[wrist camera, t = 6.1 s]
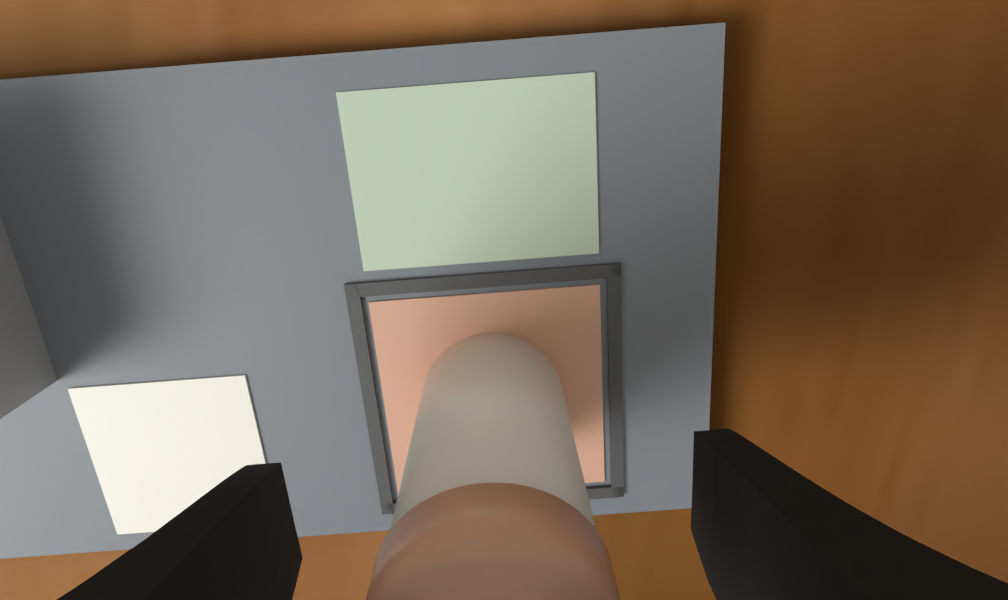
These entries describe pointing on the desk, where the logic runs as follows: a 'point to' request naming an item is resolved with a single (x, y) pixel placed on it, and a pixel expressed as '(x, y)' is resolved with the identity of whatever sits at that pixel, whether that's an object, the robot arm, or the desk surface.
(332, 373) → the grey sorting board
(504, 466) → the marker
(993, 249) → the desk surface
